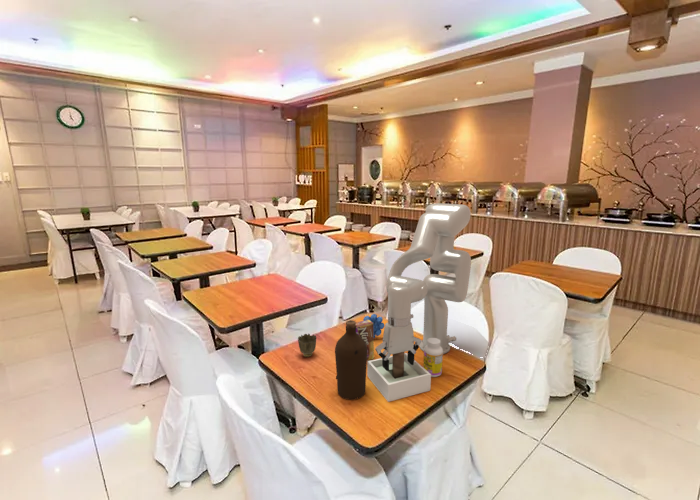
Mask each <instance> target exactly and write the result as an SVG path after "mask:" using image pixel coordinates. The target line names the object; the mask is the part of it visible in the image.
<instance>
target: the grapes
mask: <svg viewBox="0 0 700 500" xmlns="http://www.w3.org/2000/svg"><path fill="white" fill-rule="evenodd" d="M365 320H370V321H371V322H373V334H374V339H375V338H376V337H379V336H381V335H382V330H384V328H385V324H384V322H383V320H384V319H383V317H382V316H378V315H377V314H376V313H372V314H371V315H370V316H369V315H365V316H364V317H363V320H362V321H365Z"/></svg>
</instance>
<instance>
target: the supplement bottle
mask: <svg viewBox="0 0 700 500" xmlns="http://www.w3.org/2000/svg"><path fill="white" fill-rule="evenodd" d="M427 344H428V345H426V346H425V348H424V351H423V365H422V367H423V368H424V369H425V370H427V371H428V372H429V373H430V374H431V378H437V377H439V376H441V375H442V371H443V355H444V354H443V349H442V347H441V346H440V340H439V339H437V338H429V339H427Z"/></svg>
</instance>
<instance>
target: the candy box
mask: <svg viewBox="0 0 700 500" xmlns="http://www.w3.org/2000/svg"><path fill="white" fill-rule="evenodd" d="M355 322H356V321H355ZM356 333H357V334H358V335H359V336H360V337H361V338H362V339H363V340H364V341H365V343H366V346H367V361H371V360H375V343H374V342H375V341H374V340H375V338H374V334H373V322H371V321H370V320H365V321H363V320H362V321H357V322H356Z"/></svg>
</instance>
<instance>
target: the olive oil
mask: <svg viewBox="0 0 700 500" xmlns="http://www.w3.org/2000/svg"><path fill="white" fill-rule="evenodd" d="M334 358H335V359H334V360H335V370H336V376H335V379H336V383H337V384H336V385H337V387H336V389H337V394H338V396H339V397H340V398H342V399H345V400H348V401H349V400H358V399H360V398H362V397H363V396H364V395H365V394H366V389H367V388H366V387H367V386H366V382H367V346H366V343H365V341H364V340H363V339H362V338H361V337H360V336H359V335H358V334H357V333H356V321H355V320H352V319H350V320H346V321H345V333H344V334H342V336H341V337H340V338H339V339H338V340H337V341H336V344H335V347H334Z"/></svg>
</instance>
